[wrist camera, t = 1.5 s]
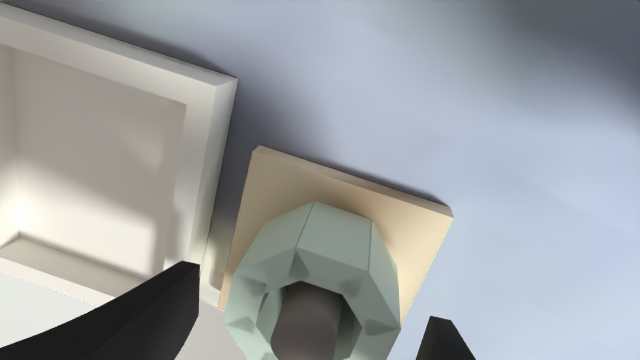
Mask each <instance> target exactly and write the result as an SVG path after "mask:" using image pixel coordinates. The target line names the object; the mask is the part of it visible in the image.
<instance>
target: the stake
mask: <svg viewBox="0 0 640 360" xmlns="http://www.w3.org/2000/svg"><path fill="white" fill-rule="evenodd" d="M312 201H314V203H315V201H317V202H320V203H323V204H326V205H329V206H332V207H335V208H338V209H341V210H344V211H347V212H350V213H353V214H356V215H359V216H362V217H365V218H368V219H371V221H373V222H374V224H375V226H376V228H377V230H378V232H379V233H380V235H381V237H382V239H383V241H384V243H385V244H386V246H387V248H388V250H389V252H390V254H391V256H392V257H393V259H394V261H395V263H396V265H397V267H398V285H399V304H400V323H401V324H402V322H403V320H404V318H405V316H406V314H407V312H408V310H409V308H410V306H411V304H412V302H413V300H414V298H415V296H416V294H417V292H418V290H419V288H420V286H421V284H422V282H423V280H424V278H425V276H426V274H427V272H428V270H429V268H430V266H431V264H432V262H433V260H434V258H435V255H436V253H437V251H438V249H439V247H440V245H441V243H442V241H443V239H444V237H445V235H446V233H447V231H448V229H449V227H450V225H451V223H452V221H453V219H454V217H453V214H452V211H451V209H450V207H447V206H444V205H441V204H438V203H435V202H432V201H429V200H426V199H423V198H420V197H417V196H414V195H411V194H408V193H404V192H401V191H398V190H395V189H392V188H389V187H386V186H383V185H380V184H377V183H374V182H371V181H368V180H365V179H362V178H359V177H356V176H353V175H350V174H347V173H344V172H341V171H338V170H335V169H332V168H328V167H325V166H322V165H319V164H316V163H313V162H310V161H307V160H304V159H301V158H298V157H295V156H292V155H289V154H286V153H283V152H280V151H277V150H274V149H271V148H268V147H265V146H262V145H259V146H258V147H257V148H256V149H255V150H253V151H252V155H251V160H250V164H249V168H248V173H247V177H246V182H245V186H244V191H243V195H242V199H241V204H240V208H239V213H238V217H237V222H236V226H235V231H234V235H233V239H232V244H231V248H230V253H229V257H228V262H227V266H226V270H225V275H224V279H223V284H222V288H221V293H220V297H219V301H218V306H217V308H220V309H223V310H225V308H226V304H227V300H228V296H229V291H230V287H231V283H232V279H233V275H234V272H235V270H236V268H237V267H238V265H239V264H240V262H241V260H242V259H243V257H244V255H245V254H246V252H247V251H248V249H249V247H250V246H251V244H252V243H253V241H254V239H255V238H256V236H257V234H258V233H259V231H260V230H261V228H262V226H263V225H264V223H265V222H267V221H269V220H271V219H274V218H276V217H278V216H280V215H283V214H285V213H287V212H289V211H292V210H294V209H296V208H298V207H301V206H303V205H305V204H307V203H310V202H312ZM343 298H344V296H343V295H342V294H340V293H337V292H334V291H331V290H328V289H325V288H322V287H319V286H316V285H313V284H310V283H307V282H304V281H301V280H300V281H297V282H294V283H292V284H290V287H289V290H288V292H287V295H286V298H285V301H284V303H283V306H282V309H281V311H280V314H279V317H278V320H277V322H276V325H275V328H274V330H273V333H272V336H271V341H270V343H271V348H272V351H273V353H274V355H275V356H276V357H277V359H278V360H332V359H333V357H334V353H335V346H336V340H337V333H338V327H339V320H340V314H341V308H342V301H343Z"/></svg>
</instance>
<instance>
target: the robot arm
mask: <svg viewBox="0 0 640 360" xmlns="http://www.w3.org/2000/svg"><path fill="white" fill-rule="evenodd" d="M199 282H200V264H196V263H191V262H187V261H180V262H178V263H176V264H174V265H173V266H171V267H169V268H167V269H166V270H164V271H162V272H161V273H159V274H157V275H156V276H154V277H152V278H150V279H149V280H147V281H145V282H144V283H142V284H140V285H138V286H137V287H135V288H133V289H131V290H130V291H128V292H126V293H124V294H122V295H121V296H119V297H117V298H115V299H113V300H111V301H109V302H107V303H105V304H103V305H101V306H99V307H97V308H95V309H94V310H92V311H90V312H88V313H86V314H84V315H81V316H79V317H77V318H75V319H73V320H71V321H68V322H66V323H64V324H61V325H59V326H57V327H55V328H52V329H50V330H47V331H45V332H42V333H40V334H37V335H34V336H32V337H29V338H26V339H23V340H21V341H18V342H15V343H13V344H10V345H7V346H4V347H2V348H0V360H174V359H175V358H176V356H177V355H178V353H179V351H180V350H181V348H182V347H183V345H184V343H185V341H186V339H187V337H188V335H189V334H190V332H191V330H192V327H193V326H194V323H195V321H196V319H197V317H198V313H199ZM416 360H476V359H475V358H474V356H473V354H472V353H471V351H470V350H469V348H468V346H467V345H466V343H465V342H464V340H463V338H462V337H461V335H460V334H459V332H458V330H457V329H456V327H455V326H454V324H453V323H452V321H451V320H447V319H443V318H438V317H434V316H430V318H429V321H428V324H427V327H426V330H425V333H424V336H423V339H422V342H421V345H420V348H419V351H418V354H417V357H416Z"/></svg>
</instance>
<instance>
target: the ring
mask: <svg viewBox="0 0 640 360" xmlns="http://www.w3.org/2000/svg"><path fill="white" fill-rule="evenodd" d="M300 280H301V281H304V282H307V283H310V284H313V285H316V286H319V287H322V288H325V289H328V290H331V291H334V292H337V293H340V294H342V295H343V296H344V298H343V301H342V308H341V314H340V320H339V327H338V333H337V340H336V346H335V353H334V357H333V359H332V360H386V359H387V357H388V355H389V353H390V351H391V349H392V347H393V345H394V343H395V341H396V338H397V336H398V334H399V332H400V330H401V323H400V304H399V285H398V267H397V265H396V263H395V261H394V259H393V257H392V256H391V254H390V252H389V250H388V248H387V246H386V244H385V243H384V241H383V239H382V237H381V235H380V233H379V232H378V230H377V228H376V226H375V224H374V222H373V221H371V219H368V218H365V217H362V216H359V215H356V214H353V213H350V212H347V211H344V210H341V209H338V208H335V207H332V206H329V205H326V204H323V203H320V202H317V201H315V203H314V201H312V202H310V203H307V204H305V205H303V206H301V207H298V208H296V209H294V210H292V211H289V212H287V213H285V214H283V215H280V216H278V217H276V218H274V219H271V220H269V221H267V222H265V223H264V225H263V226H262V228H261V230H260V231H259V233H258V234H257V236H256V238H255V239H254V241H253V243H252V244H251V246H250V247H249V249H248V251H247V252H246V254H245V255H244V257H243V259H242V260H241V262H240V264H239V265H238V267H237V268H236V270H235V272H234V275H233V279H232V283H231V287H230V291H229V296H228V300H227V304H226V308H225V312H224V317H223V321H222V323H223V326H224V328H225V329H226V331H227V332H228V333H229V335H230V336H231V337H232V339H233V340H234V342H235V343H236V344H237V346H238V347H239V349H240V350H241V351H242V352H243V354H244V355H245V356H246V358H247V359H248V360H278V359H277V357H276V356H275V355H274V353H273V351H272V348H271V343H270V341H271V336H272V333H273V330H274V328H275V325H276V322H277V320H278V317H279V314H280V311H281V309H282V306H283V303H284V301H285V298H286V295H287V292H288V290H289V287H290V284H292V283H294V282H297V281H300Z"/></svg>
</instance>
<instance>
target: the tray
mask: <svg viewBox="0 0 640 360" xmlns="http://www.w3.org/2000/svg"><path fill="white" fill-rule="evenodd" d="M237 83H238V79H237V78H234V77H231V76H228V75H225V74H222V73H218V72H215V71H212V70H209V69H206V68H203V67H200V66H197V65H194V64H191V63H188V62H184V61H181V60H178V59H175V58H172V57H169V56H166V55H163V54H160V53H157V52H153V51H150V50H147V49H144V48H141V47H138V46H135V45H132V44H129V43H126V42H122V41H119V40H116V39H113V38H110V37H107V36H104V35H101V34H98V33H95V32H92V31H88V30H85V29H82V28H79V27H76V26H73V25H70V24H67V23H64V22H61V21H57V20H54V19H51V18H48V17H45V16H42V15H39V14H36V13H33V12H30V11H27V10H23V9H20V8H17V7H14V6H11V5H8V4H5V3H2V2H0V273H3V274H6V275H9V276H11V277H14V278H17V279H20V280H23V281H26V282H29V283H31V284H34V285H37V286H40V287H43V288H45V289H48V290H51V291H54V292H57V293H60V294H63V295H65V296H68V297H71V298H74V299H77V300H80V301H83V302H86V303H88V304H91V305H94V306H97V307H99V306H101V305H103V304H105V303H107V302H109V301H111V300H113V299H115V298H117V297H119V296H121V295H122V294H124V293H126V292H128V291H130V290H131V289H133V288H135V287H137V286H138V285H140V284H142V283H144V282H145V281H147V280H149V279H150V278H152V277H154V276H156V275H157V274H159V273H161V272H162V271H164V270H166V269H167V268H169V267H171V266H173V265H174V264H176V263H178V262H180V261H187V262H191V263H196V264H200V274H201V269H202V264H203V259H204V254H205V248H206V243H207V238H208V233H209V228H210V223H211V217H212V212H213V207H214V202H215V197H216V192H217V186H218V181H219V176H220V171H221V166H222V161H223V155H224V150H225V145H226V140H227V135H228V130H229V124H230V119H231V114H232V109H233V104H234V99H235V93H236V88H237Z"/></svg>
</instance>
